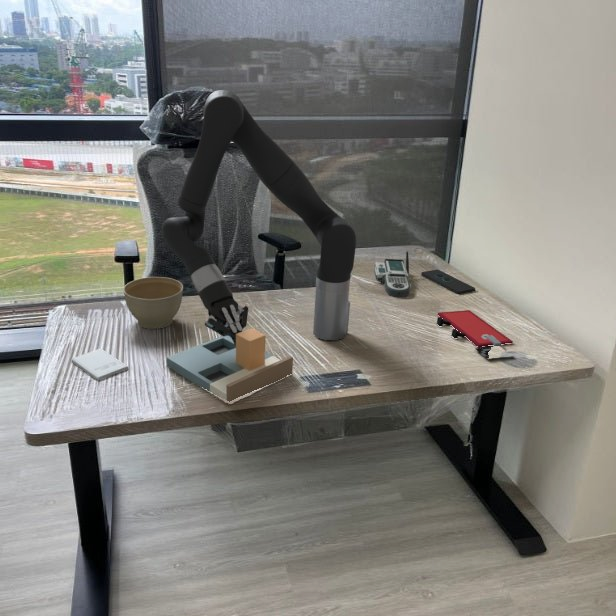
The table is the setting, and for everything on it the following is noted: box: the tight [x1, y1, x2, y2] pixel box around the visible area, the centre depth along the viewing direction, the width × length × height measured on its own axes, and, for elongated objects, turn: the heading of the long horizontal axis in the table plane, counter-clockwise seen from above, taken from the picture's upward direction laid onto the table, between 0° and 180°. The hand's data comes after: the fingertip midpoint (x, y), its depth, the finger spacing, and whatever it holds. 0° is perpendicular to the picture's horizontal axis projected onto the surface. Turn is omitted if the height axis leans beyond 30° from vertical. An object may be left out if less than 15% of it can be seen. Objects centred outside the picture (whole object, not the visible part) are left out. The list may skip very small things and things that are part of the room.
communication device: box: [374, 251, 412, 298], centre depth 206 cm, size 12×24×9 cm, turn 179°
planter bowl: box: [123, 276, 184, 330], centre depth 169 cm, size 16×16×11 cm
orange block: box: [236, 327, 266, 371], centre depth 145 cm, size 5×5×8 cm
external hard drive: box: [70, 348, 129, 381], centre depth 148 cm, size 2×8×12 cm
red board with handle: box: [436, 309, 514, 359], centre depth 173 cm, size 30×3×15 cm
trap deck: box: [166, 335, 294, 402], centre depth 147 cm, size 20×24×5 cm
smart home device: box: [420, 269, 476, 296], centre depth 211 cm, size 8×2×20 cm
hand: (243, 346), depth 148 cm, fingers closed
